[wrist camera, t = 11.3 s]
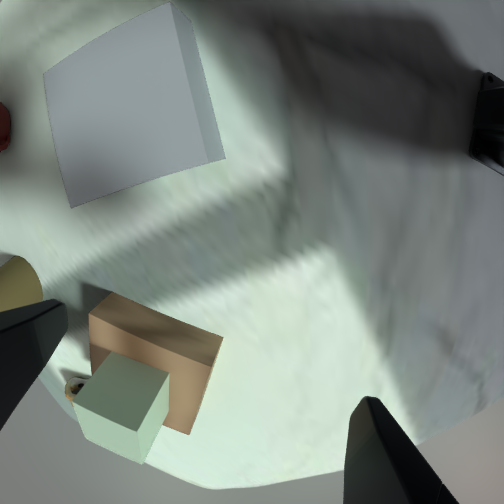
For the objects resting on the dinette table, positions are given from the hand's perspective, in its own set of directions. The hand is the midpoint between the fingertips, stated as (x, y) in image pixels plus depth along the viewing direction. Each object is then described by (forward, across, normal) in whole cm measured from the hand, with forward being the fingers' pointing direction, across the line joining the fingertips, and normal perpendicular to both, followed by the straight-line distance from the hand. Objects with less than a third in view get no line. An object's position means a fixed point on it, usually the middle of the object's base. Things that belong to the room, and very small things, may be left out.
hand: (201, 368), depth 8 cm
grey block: (+13, +10, -6) cm, 18 cm away
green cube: (+10, +6, +14) cm, 18 cm away
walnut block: (+14, +6, +14) cm, 20 cm away
